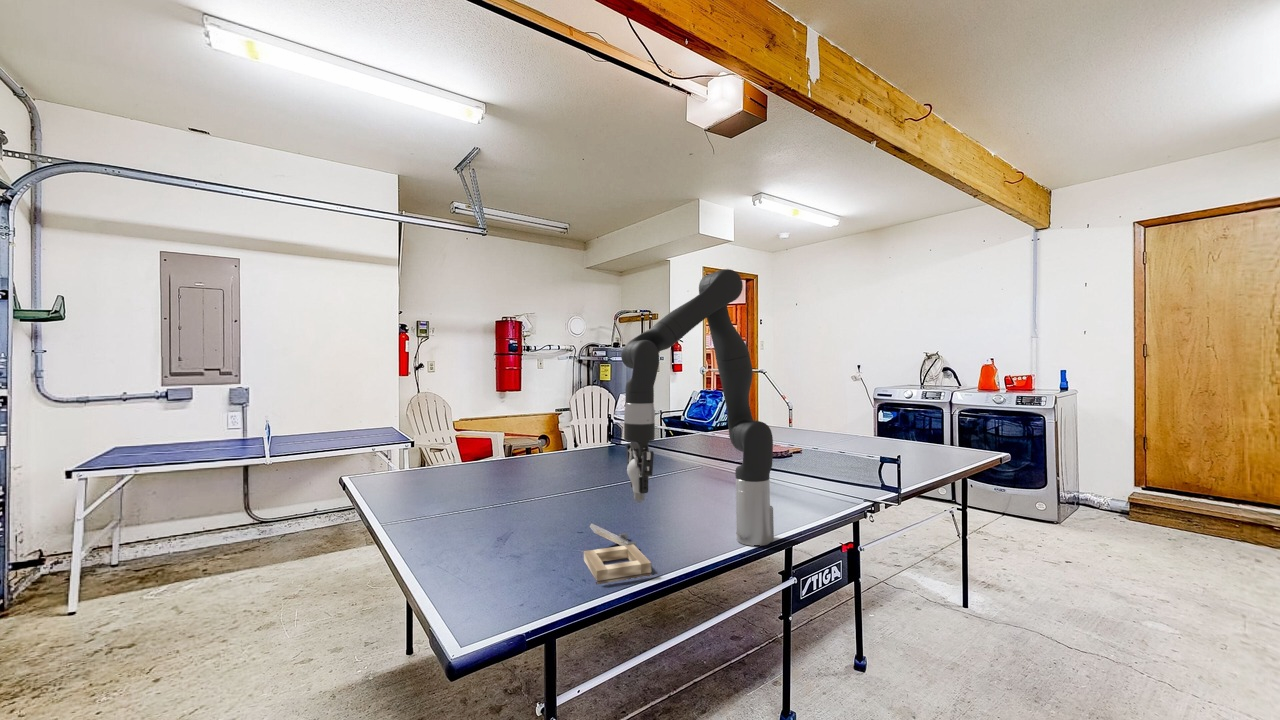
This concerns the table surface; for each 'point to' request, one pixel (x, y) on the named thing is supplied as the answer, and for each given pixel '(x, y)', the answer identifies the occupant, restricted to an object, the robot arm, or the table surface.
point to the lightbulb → (635, 480)
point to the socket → (604, 572)
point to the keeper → (609, 535)
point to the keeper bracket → (625, 536)
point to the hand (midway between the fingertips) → (639, 489)
